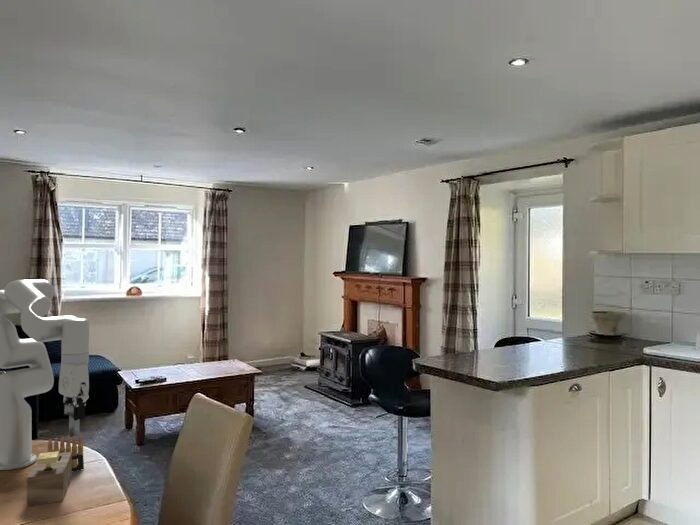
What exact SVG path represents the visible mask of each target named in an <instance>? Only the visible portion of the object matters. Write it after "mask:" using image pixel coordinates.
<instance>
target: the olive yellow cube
mask: <svg viewBox="0 0 700 525" xmlns="http://www.w3.org/2000/svg"><path fill="white" fill-rule="evenodd" d="M58 459H59V451H57V452H48V453H47V452H42V453H39V454H38V456H37V460H36V461H37V465H41V464H46V471H50V470H51V463H57V461H58Z"/></svg>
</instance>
